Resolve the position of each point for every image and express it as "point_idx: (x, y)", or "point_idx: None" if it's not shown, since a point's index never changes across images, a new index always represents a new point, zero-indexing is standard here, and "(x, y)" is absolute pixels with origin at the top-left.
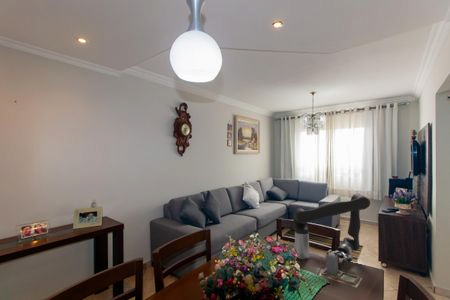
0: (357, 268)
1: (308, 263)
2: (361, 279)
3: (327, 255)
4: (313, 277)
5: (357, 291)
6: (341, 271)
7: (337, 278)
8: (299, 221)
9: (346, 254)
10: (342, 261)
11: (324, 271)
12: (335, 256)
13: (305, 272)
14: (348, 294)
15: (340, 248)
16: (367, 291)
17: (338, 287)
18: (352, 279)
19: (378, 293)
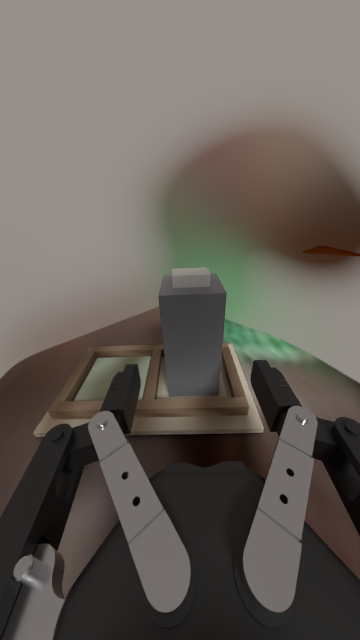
0: None
1: None
2: (44, 417)
3: (211, 277)
4: (239, 335)
5: (90, 344)
6: (153, 404)
7: (157, 346)
8: None
9: (80, 591)
10: (138, 372)
11: (224, 355)
12: (166, 283)
13: (287, 344)
14: (118, 324)
15: None
16: (52, 360)
17: (148, 333)
18: (96, 380)
19: (11, 369)
